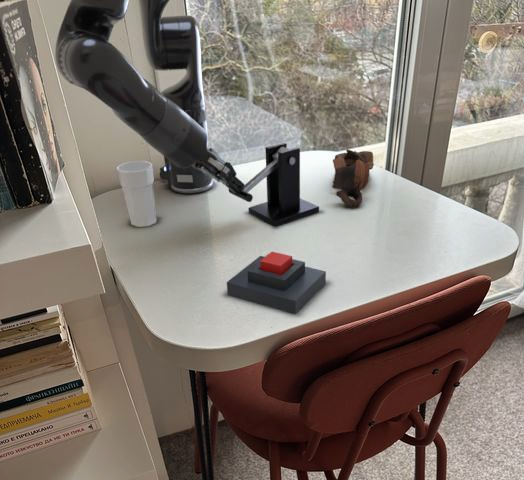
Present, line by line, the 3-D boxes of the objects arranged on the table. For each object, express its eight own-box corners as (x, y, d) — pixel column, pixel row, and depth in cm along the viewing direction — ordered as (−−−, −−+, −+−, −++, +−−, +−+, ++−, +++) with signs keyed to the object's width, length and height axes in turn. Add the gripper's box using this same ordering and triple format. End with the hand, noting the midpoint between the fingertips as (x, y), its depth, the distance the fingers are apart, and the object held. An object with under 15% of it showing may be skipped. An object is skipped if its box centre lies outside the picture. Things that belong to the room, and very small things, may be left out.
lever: (249, 205, 101) (244, 195, 99) (231, 196, 105) (226, 186, 103) (299, 161, 103) (295, 151, 101) (280, 154, 107) (276, 144, 105)
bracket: (275, 227, 105) (273, 159, 98) (248, 213, 111) (244, 148, 104) (319, 212, 110) (320, 146, 103) (291, 199, 116) (290, 137, 109)
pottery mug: (330, 142, 106) (367, 140, 109) (311, 164, 115) (345, 161, 118) (345, 202, 106) (381, 198, 109) (324, 219, 115) (358, 214, 118)
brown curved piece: (334, 165, 114) (375, 165, 113) (334, 149, 114) (376, 149, 113) (334, 173, 129) (371, 173, 128) (335, 159, 128) (371, 159, 127)
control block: (227, 294, 86) (225, 271, 83) (260, 267, 92) (259, 245, 90) (295, 313, 80) (295, 290, 78) (325, 283, 87) (326, 260, 85)
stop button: (260, 271, 84) (259, 260, 83) (272, 261, 86) (271, 251, 85) (280, 276, 82) (280, 265, 81) (292, 266, 85) (292, 255, 84)
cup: (154, 212, 113) (145, 158, 107) (165, 223, 109) (156, 167, 102) (123, 219, 111) (112, 164, 105) (133, 231, 106) (122, 174, 100)
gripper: (205, 119, 84) (272, 180, 97) (165, 105, 93) (231, 163, 106) (179, 162, 85) (249, 217, 98) (142, 144, 94) (210, 196, 106)
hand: (239, 189), depth 102 cm, fingers closed
